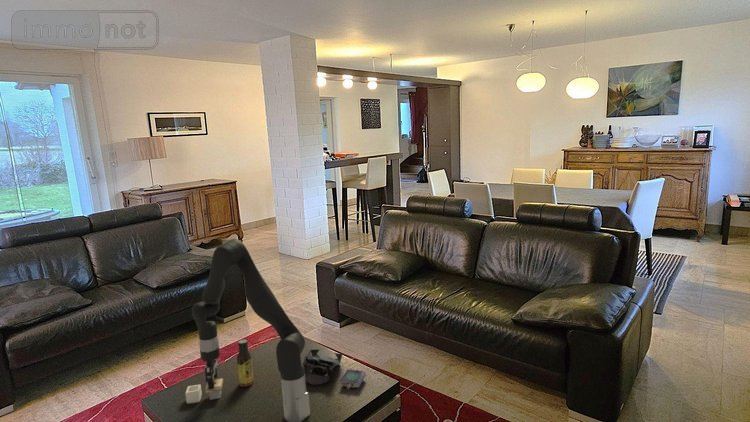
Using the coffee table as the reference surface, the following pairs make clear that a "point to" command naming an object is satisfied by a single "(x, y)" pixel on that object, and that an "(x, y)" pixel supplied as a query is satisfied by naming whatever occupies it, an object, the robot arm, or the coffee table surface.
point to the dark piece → (319, 367)
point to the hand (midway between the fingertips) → (213, 383)
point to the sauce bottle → (244, 365)
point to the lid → (215, 385)
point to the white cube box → (193, 394)
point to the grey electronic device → (352, 378)
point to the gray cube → (215, 394)
